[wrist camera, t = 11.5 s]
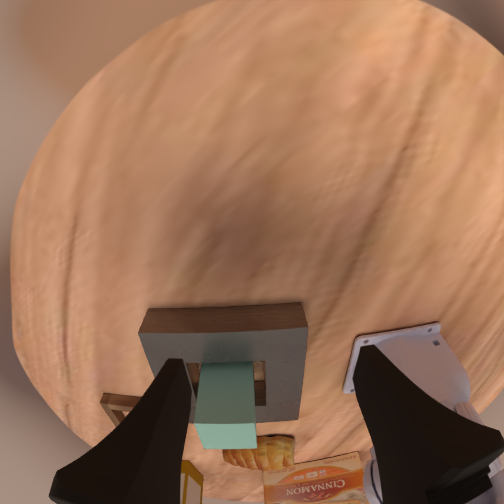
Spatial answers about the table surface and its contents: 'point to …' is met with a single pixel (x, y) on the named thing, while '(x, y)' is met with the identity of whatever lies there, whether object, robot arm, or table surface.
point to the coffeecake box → (317, 482)
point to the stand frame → (117, 406)
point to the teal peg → (226, 406)
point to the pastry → (264, 454)
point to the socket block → (235, 349)
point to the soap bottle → (190, 484)
